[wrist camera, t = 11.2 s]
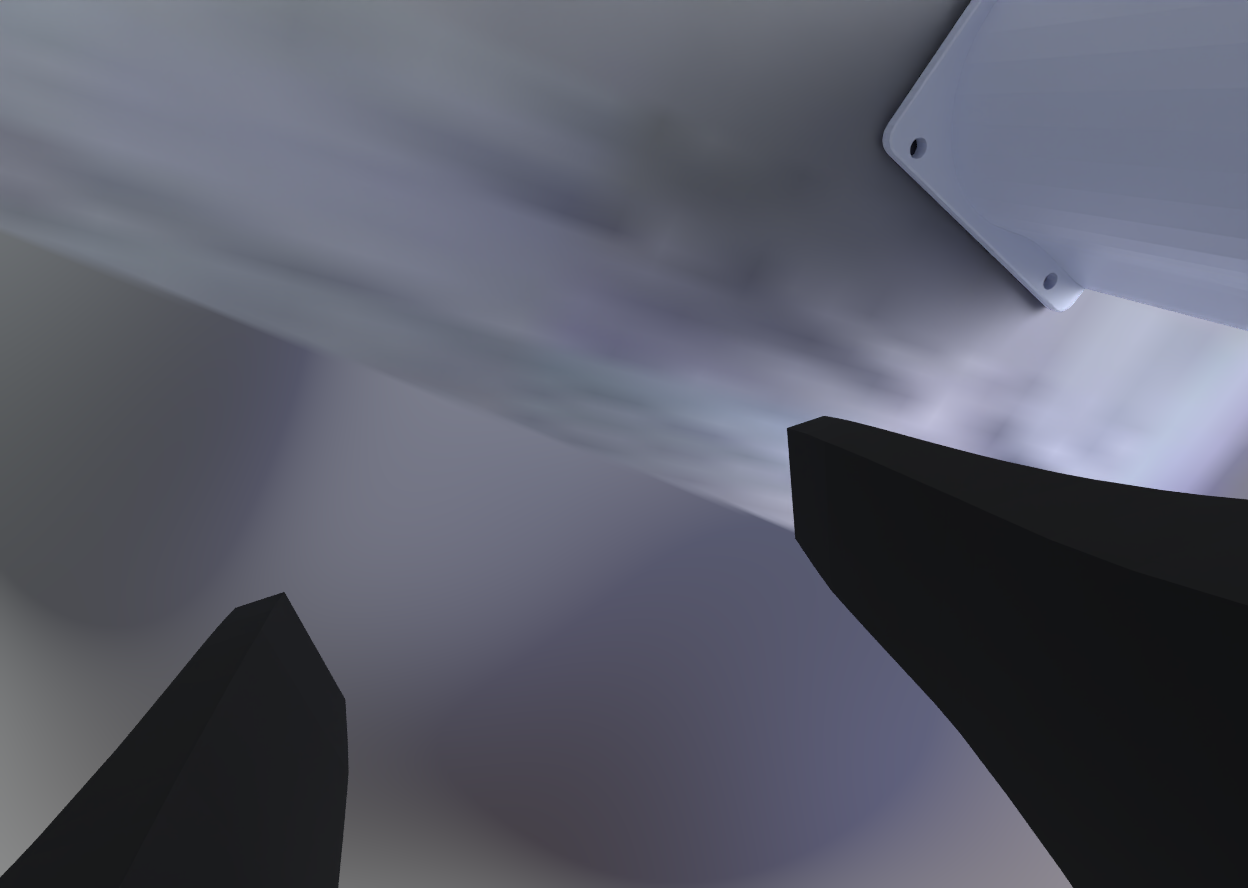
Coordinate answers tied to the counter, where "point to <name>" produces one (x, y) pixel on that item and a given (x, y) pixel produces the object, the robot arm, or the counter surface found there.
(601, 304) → the counter surface
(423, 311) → the counter surface
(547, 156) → the counter surface
